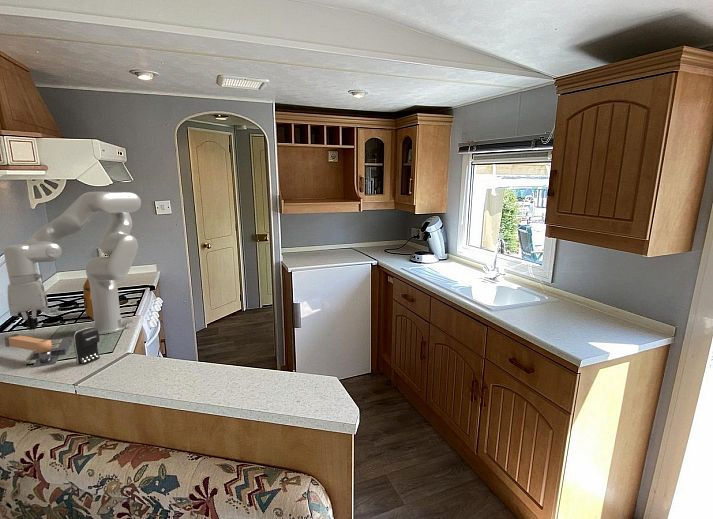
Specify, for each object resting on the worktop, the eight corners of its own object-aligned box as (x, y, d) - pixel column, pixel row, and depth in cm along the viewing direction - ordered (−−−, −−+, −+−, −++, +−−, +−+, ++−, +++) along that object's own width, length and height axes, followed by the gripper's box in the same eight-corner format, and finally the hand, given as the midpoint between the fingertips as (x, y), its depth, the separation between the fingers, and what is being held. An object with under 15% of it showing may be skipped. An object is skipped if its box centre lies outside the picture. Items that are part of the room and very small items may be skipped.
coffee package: (88, 321, 177) (82, 274, 174) (84, 315, 186) (78, 271, 183) (113, 316, 184) (108, 271, 180) (108, 311, 193) (103, 268, 190)
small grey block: (59, 357, 134) (57, 346, 133) (55, 363, 129) (54, 352, 128) (37, 361, 131) (35, 350, 130) (32, 367, 126) (31, 355, 125)
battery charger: (83, 366, 126) (79, 333, 124) (75, 365, 127) (71, 332, 126) (103, 358, 133) (100, 326, 131) (95, 357, 134) (92, 325, 132)
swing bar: (18, 342, 137) (16, 333, 137) (55, 349, 130) (53, 339, 130) (4, 346, 134) (3, 337, 133) (42, 353, 127) (40, 343, 126)
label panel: (72, 341, 150) (71, 336, 149) (65, 354, 137) (64, 348, 136) (43, 345, 145) (42, 340, 145) (33, 359, 132) (32, 353, 132)
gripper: (52, 274, 141) (60, 321, 145) (-1, 280, 134) (9, 329, 137) (48, 278, 135) (56, 327, 138) (-8, 284, 128) (2, 336, 131)
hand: (33, 328), depth 138 cm, fingers closed
